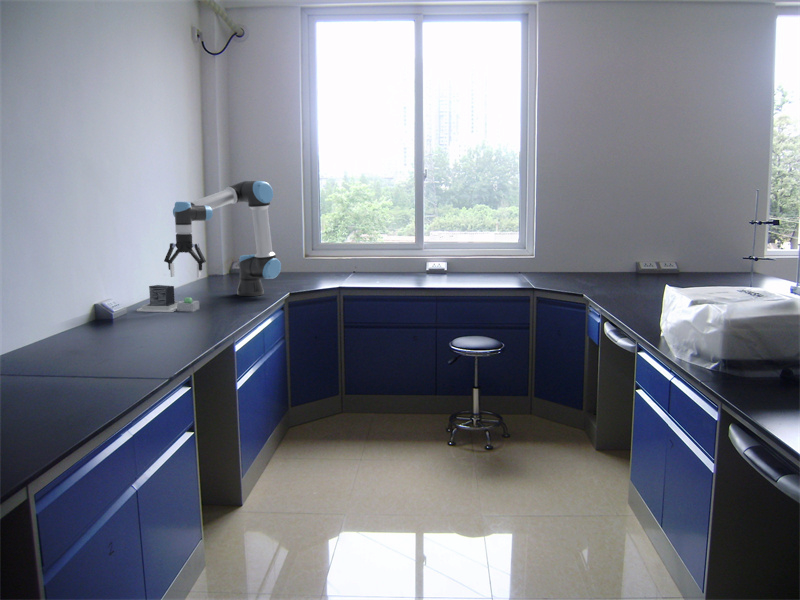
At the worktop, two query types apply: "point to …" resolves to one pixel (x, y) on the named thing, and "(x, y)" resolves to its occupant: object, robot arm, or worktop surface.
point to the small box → (161, 295)
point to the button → (188, 300)
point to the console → (188, 306)
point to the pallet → (159, 308)
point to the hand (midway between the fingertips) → (185, 276)
